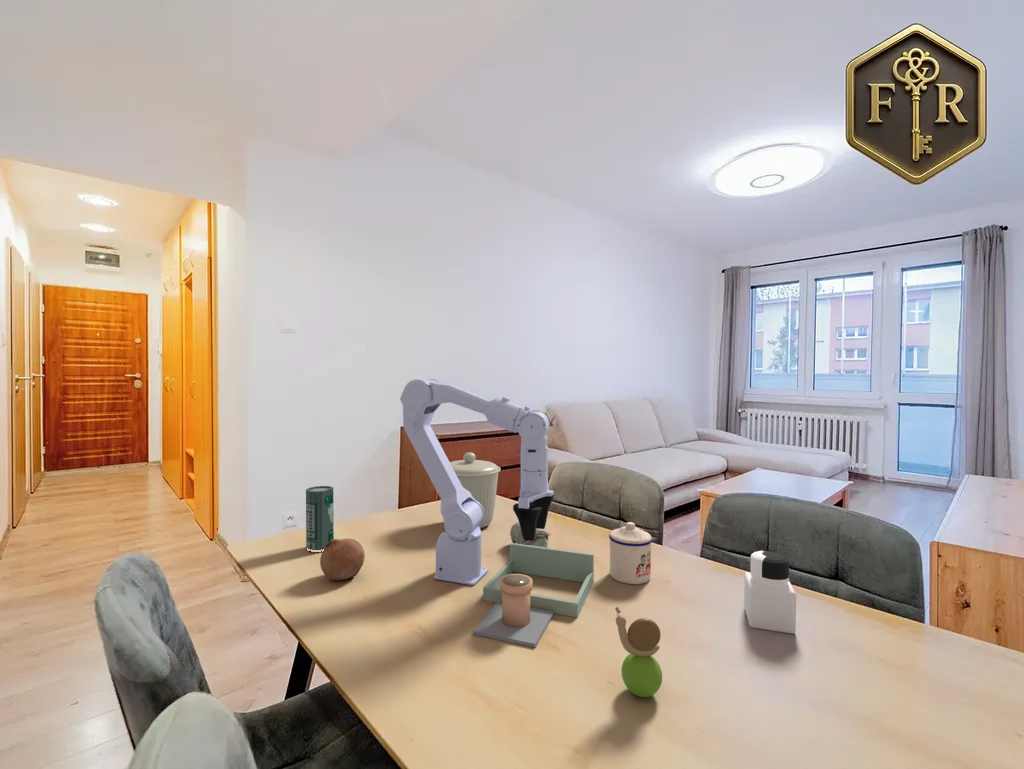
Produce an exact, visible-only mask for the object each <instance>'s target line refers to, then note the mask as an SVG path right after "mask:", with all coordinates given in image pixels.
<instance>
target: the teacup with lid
mask: <svg viewBox="0 0 1024 769" xmlns="http://www.w3.org/2000/svg"><path fill="white" fill-rule="evenodd" d="M608 537H609V574H610V576H611V578H613V579H614V580H616V581H617V582H620V583H623V584H627V585H642V584H646V583H648V582H649V581H650V580H651V576H652V573H651V571H652V570H651V569H652V568H651V567H652V560H651V559H652V542H653V538H652V535H651V534H650V533H649V532H648V531H645V530H643V529H640V528H639V527H636V524H635V522H634V521H633V522H632V521H629V522H626V523H625V525H624V526H621V527H619V528H615V529H613V530H611V531H610V533H609V534H608Z"/></svg>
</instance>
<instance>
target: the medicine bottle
mask: <svg viewBox="0 0 1024 769" xmlns="http://www.w3.org/2000/svg"><path fill="white" fill-rule="evenodd" d="M743 591H744V594H743V595H744V596H743V598H744V602H743V605H744V606H743V608H744V612H745V615H746V619H747V623H748V626H749V627H750V628H754V629H759V630H766V631H772V632H776V633H777V632H779V633H783V634H784V633H785V634H792V635H795V634H796V632H797V631H796V630H797V626H796V625H797V620H796V619H797V618H796V617H797V593H796V591H795V590H794V588H793V586H792V583H791V582H790V561H789V559H788V558H787V557H785V556H784V555H782V554H780V553H778V552H774V551H769V550H758V551H754V552H753V553H751V555H750V572H749V571H746V572H744V590H743Z"/></svg>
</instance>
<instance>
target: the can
mask: <svg viewBox="0 0 1024 769" xmlns="http://www.w3.org/2000/svg"><path fill="white" fill-rule="evenodd" d="M334 517H335V516H334V487H333V486H330V485H317V486H316V485H315V486H310V487H307V488H306V489H305V535H306V536H305V538H306V540H305V546H306V548H308V549H310V550H311V549H312V550H321V549H322V550H323V549H325V548H326V547H325V546H326V544H328V543H329V541H331V540H333V539H334V538H335V537H334V535H335V534H334V533H335V532H334V531H335V530H334V528H335V527H334V525H335V524H334V522H335V521H334V520H335V519H334ZM327 542H328V543H327ZM306 548H305V549H306Z"/></svg>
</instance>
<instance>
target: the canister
mask: <svg viewBox="0 0 1024 769" xmlns="http://www.w3.org/2000/svg"><path fill="white" fill-rule="evenodd" d="M476 457H477V456H476V454H475V453H474V452H471V451H469V452H466V453H464V454H463V457H462V458H463V459H461V460H453V461H449V462H450V464H451V466H452V468H453V470H454V472H455V473H456V475H457V477H458V479H459V481H460V483H461V485H462V487H463V488H465V489H466V490H468V491H469V492H470V493H471V495H472V497H473V498H474V499H475V500H476V501H477V502H479V503H480V504H481V505H482V507H483V509H484V518H483V521H482V522H481V523H480V524H479V527H480V530H481V529H483V528H486V527H488V526H489V525H490V524H491V523H492V521H493V517H494V513H495V507H496V497H497V489H498V479H499V478H498V477H499V473H500V472H501V467H500V466H498V465H497V464H495V463H494V462H492V461H487V460H481V459H476Z"/></svg>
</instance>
